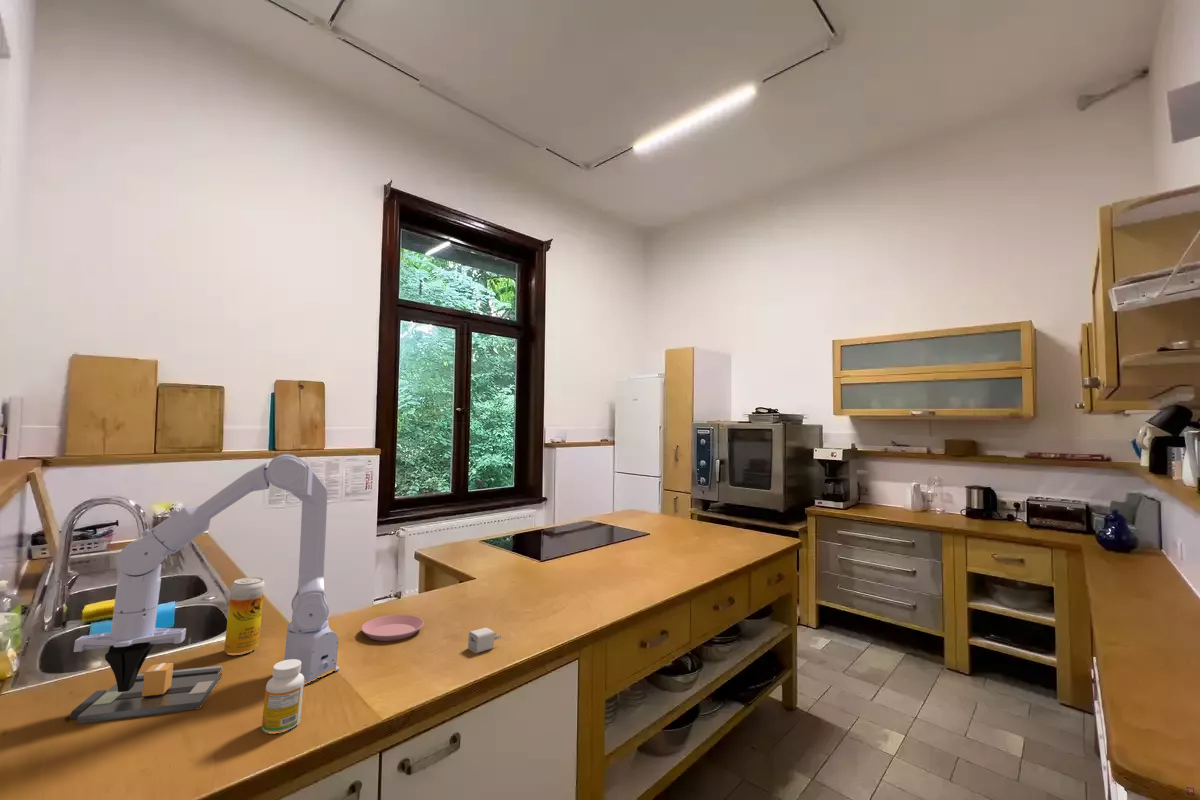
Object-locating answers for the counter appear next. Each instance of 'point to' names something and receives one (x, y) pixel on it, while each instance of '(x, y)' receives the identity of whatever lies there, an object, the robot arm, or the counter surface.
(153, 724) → the counter surface
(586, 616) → the counter surface
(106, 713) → the panel
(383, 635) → the plate
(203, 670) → the flat board
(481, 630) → the usb wall charger
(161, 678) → the cardboard box
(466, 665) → the counter surface
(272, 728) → the supplement bottle
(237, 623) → the beer can
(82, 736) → the counter surface
